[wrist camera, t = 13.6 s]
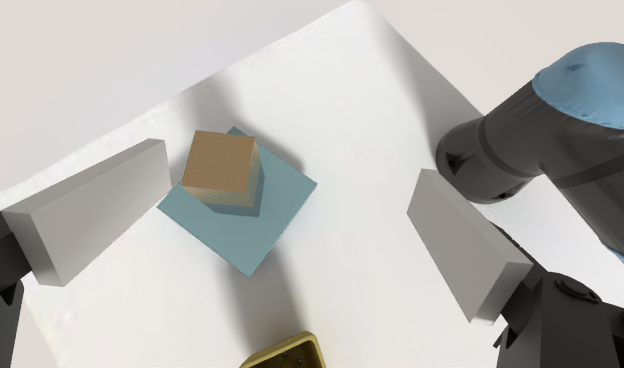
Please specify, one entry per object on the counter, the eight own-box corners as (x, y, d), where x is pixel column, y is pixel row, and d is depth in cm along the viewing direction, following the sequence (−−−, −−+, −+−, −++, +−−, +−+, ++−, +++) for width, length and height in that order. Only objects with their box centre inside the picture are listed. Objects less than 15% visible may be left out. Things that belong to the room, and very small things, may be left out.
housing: (264, 177, 37) (254, 137, 26) (258, 217, 35) (244, 192, 24) (223, 173, 37) (195, 130, 26) (215, 213, 35) (180, 186, 24)
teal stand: (314, 192, 42) (317, 183, 38) (252, 276, 37) (248, 277, 33) (238, 140, 44) (233, 126, 40) (170, 213, 39) (156, 207, 35)
